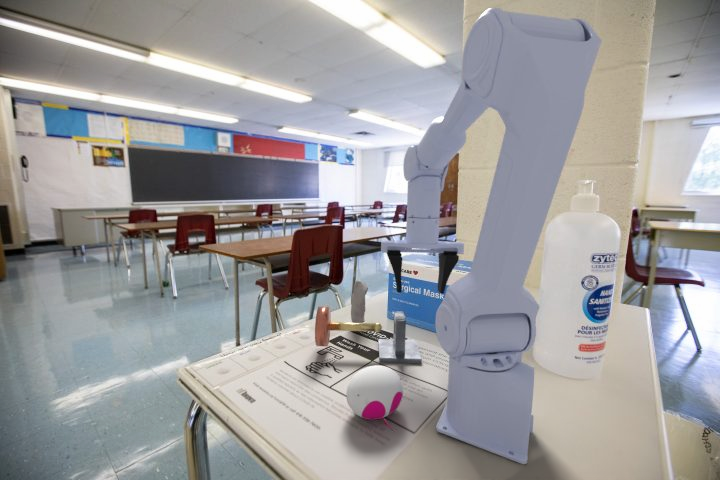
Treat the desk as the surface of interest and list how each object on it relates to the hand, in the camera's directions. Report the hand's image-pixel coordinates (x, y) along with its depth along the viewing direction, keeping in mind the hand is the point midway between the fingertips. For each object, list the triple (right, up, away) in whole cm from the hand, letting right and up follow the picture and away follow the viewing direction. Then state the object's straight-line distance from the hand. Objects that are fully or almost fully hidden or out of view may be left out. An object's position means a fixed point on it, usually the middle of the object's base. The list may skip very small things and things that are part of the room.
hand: (419, 291), depth 56 cm
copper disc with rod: (-13, -9, -2) cm, 16 cm away
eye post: (-4, -11, -2) cm, 12 cm away
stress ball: (-9, -13, -17) cm, 23 cm away
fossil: (-11, -9, +10) cm, 18 cm away
